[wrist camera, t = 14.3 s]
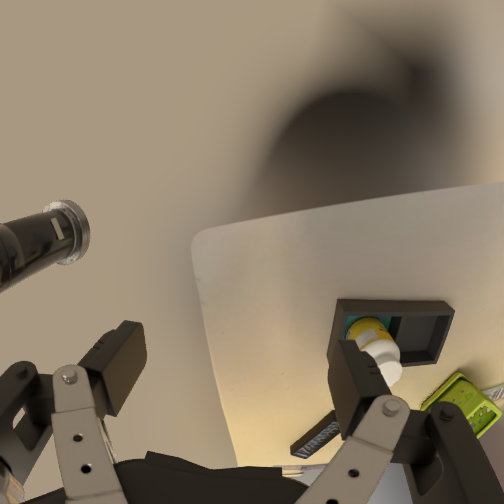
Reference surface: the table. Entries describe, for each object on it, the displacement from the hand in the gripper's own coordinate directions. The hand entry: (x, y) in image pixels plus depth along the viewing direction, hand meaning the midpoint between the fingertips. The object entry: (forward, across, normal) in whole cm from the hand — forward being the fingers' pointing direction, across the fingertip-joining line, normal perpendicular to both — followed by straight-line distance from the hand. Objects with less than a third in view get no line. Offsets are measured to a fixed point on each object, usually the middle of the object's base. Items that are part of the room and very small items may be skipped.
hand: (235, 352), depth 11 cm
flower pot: (+29, -44, +33) cm, 63 cm away
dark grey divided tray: (+29, -23, +16) cm, 40 cm away
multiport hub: (+30, -16, +42) cm, 53 cm away
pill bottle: (+29, -18, +16) cm, 37 cm away
